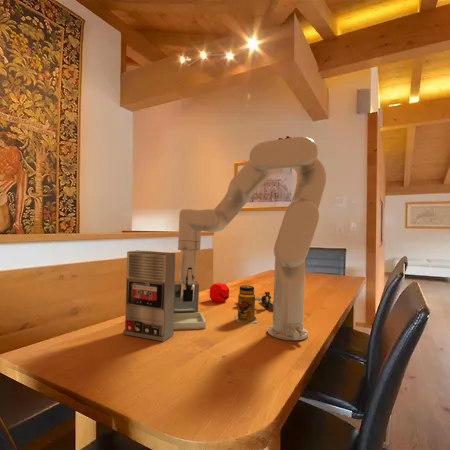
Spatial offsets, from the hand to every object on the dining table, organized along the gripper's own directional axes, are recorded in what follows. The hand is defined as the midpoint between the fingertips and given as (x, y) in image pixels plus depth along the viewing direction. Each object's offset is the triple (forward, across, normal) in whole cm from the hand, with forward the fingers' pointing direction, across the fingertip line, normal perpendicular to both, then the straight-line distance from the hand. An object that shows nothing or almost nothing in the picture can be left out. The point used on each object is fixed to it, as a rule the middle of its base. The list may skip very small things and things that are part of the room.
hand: (187, 298), depth 105 cm
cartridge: (0, 0, 0) cm, 0 cm away
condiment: (+8, -2, +22) cm, 24 cm away
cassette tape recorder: (+9, +10, -12) cm, 18 cm away
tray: (+8, 0, 0) cm, 8 cm away
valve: (+8, -18, +30) cm, 36 cm away
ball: (+9, -28, +17) cm, 34 cm away
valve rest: (+8, -18, +31) cm, 37 cm away
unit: (+8, -9, 0) cm, 12 cm away
